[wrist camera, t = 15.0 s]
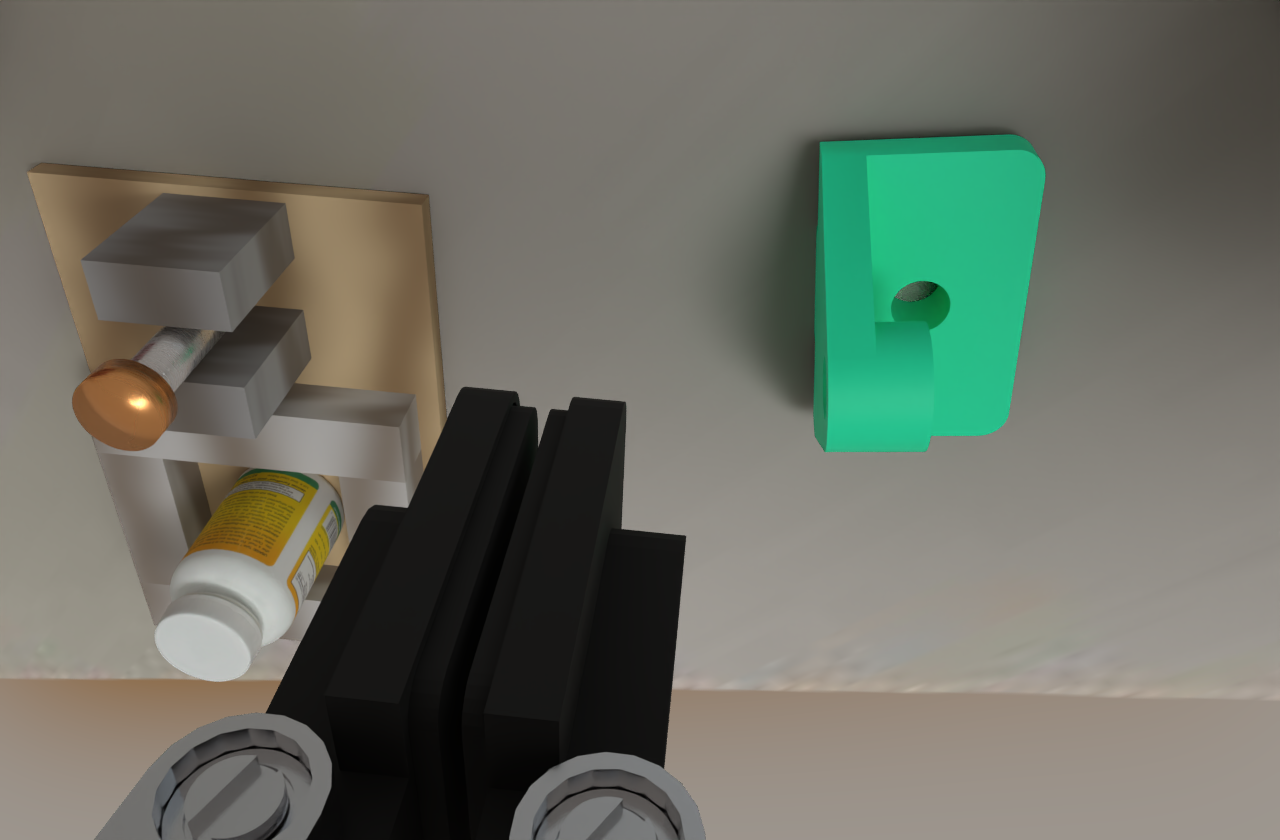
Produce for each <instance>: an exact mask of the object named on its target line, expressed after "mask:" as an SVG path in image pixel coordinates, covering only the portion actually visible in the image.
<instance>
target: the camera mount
mask: <svg viewBox="0 0 1280 840" xmlns="http://www.w3.org/2000/svg"><path fill="white" fill-rule="evenodd" d="M1045 177H1046V173H1045V168H1044V165H1043V163H1042V161H1041V160H1040V158H1039V156H1038V155H1037V153H1036V151H1035V150H1034V148H1033V146H1032V145H1031V144H1030V142H1029V141H1027V140H1026V139H1025V138H1023V137H1021V136H1018V135H1012V134H1006V135H981V136H956V137H930V138H905V139H880V140H854V141H829V142H820V155H819V197H818V226H817V232H816V276H815V320H814V334H815V368H814V411H813V417H814V432H815V437H816V439H817V440H818V442H819V444H820V445H821V447H822V448H823V450H824V451H825V452H925V451H927V449H928V446H929V443H930V438H931V436H981V435H987V434H990V433H992V432H994V431H996V430H998V429H999V428H1000V427H1002V426H1003V424H1004V423H1005V422H1006V420H1007V418H1008V415H1009V410H1010V403H1011V397H1012V390H1013V384H1014V377H1015V371H1016V364H1017V358H1018V352H1019V345H1020V339H1021V332H1022V326H1023V319H1024V313H1025V307H1026V300H1027V294H1028V287H1029V281H1030V274H1031V268H1032V261H1033V255H1034V249H1035V242H1036V236H1037V229H1038V223H1039V216H1040V210H1041V204H1042V197H1043V191H1044V184H1045ZM918 281H929V282H933V283H936V284H938V285H939V286H938V287H937V289H936V290H935V291H934V292H933V293H932V294H931V295H930V296H928V297H926V298H924V299H922V300H919V301H914V302H907V301H902V300H899V299H897V298H895V295H896V294H897V293H898V292H899V290H901V289H902V288H903V287H905V286H906V285H908V284H911V283H914V282H918Z"/></svg>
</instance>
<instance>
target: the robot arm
mask: <svg viewBox="0 0 1280 840" xmlns="http://www.w3.org/2000/svg"><path fill="white" fill-rule="evenodd" d="M625 434H626V402H622V401H611V400H601V399H590V398H579V397H573V398H572V400H571V403H570V406H569V409H568V410H557V409H551V410H550V412H549V415H548V418H547V421H546V425H545V428H544V431H543V434H542V438H541V441H540V444H539V447H538V418H537V410H536V408H535V407H525V406H520V402H519V397H518V394H517V392H515V391H504V390H494V389H483V388H472V387H463V388H462V389H461V390H460V392H459V394H458V396H457V398H456V400H455V403H454V405H453V407H452V409H451V412H450V414H449V416H448V418H447V421H446V423H445V425H444V427H443V430H442V432H441V434H440V436H439V439H438V441H437V443H436V445H435V448H434V450H433V452H432V454H431V457H430V459H429V461H428V463H427V466H426V468H425V470H424V472H423V475H422V477H421V479H420V481H419V484H418V486H417V488H416V490H415V493H414V495H413V497H412V499H411V502H410V504H409V506H408V508H405V507H395V506H385V505H373V506H372V507H370V508H369V509H368V510H367V512H366V513H365V515H364V516H363V518H362V520H361V522H360V524H359V526H358V528H357V530H356V532H355V534H354V536H353V538H352V540H351V542H350V544H349V546H348V548H347V550H346V552H345V554H344V556H343V558H342V560H341V562H340V564H339V566H338V568H337V570H336V572H335V574H334V576H333V578H332V580H331V582H330V584H329V586H328V588H327V590H326V592H325V594H324V596H323V598H322V600H321V602H320V604H319V606H318V608H317V610H316V612H315V615H314V617H313V619H312V621H311V623H310V625H309V627H308V629H307V631H306V633H305V635H304V637H303V639H302V641H301V643H300V645H299V647H298V649H297V651H296V653H295V655H294V657H293V659H292V661H291V663H290V665H289V667H288V669H287V671H286V673H285V675H284V677H283V679H282V681H281V683H280V685H279V687H278V689H277V691H276V693H275V695H274V697H273V699H272V701H271V704H270V705H269V708H268V710H267V711H266V714H265V713H251V714H244V715H237V716H230V717H226V718H223V719H220V720H218V721H215V722H212V723H210V724H207V725H204V726H202V727H199V728H197V729H196V730H194V731H192V732H191V733H189V734H188V735H186V736H185V737H183V738H182V739H180V740H178V741H177V742H175V743H174V744H173V745H171V746H170V747H169V748H168V749H167V750H166V751H165V752H164V753H163V754H162V755H161V756H160V757H159V758H158V759H157V760H156V761H155V762H154V763H153V764H152V765H151V767H149V769H148V770H147V771H146V772H145V774H144V775H143V777H142V778H141V779H140V780H139V782H138V783H137V784H136V785H135V787H134V788H133V789H132V791H131V792H130V793H129V795H128V796H127V797H126V799H125V800H124V801H123V802H122V804H121V805H120V806H119V808H118V809H117V810H116V812H115V813H114V814H113V815H112V817H111V818H110V819H109V821H108V822H107V823H106V825H105V826H104V827H103V829H102V830H101V831H100V832H99V834H98V835H97V836H96V838H95V839H94V840H706V837H705V831H704V827H703V824H702V820H701V817H700V813H699V810H698V807H697V805H696V803H695V802H694V800H693V799H692V798H691V796H690V795H689V793H688V792H687V790H686V789H685V787H684V786H683V784H682V783H681V782H680V781H678V780H677V779H676V778H674V777H673V776H672V775H671V774H669V773H668V772H667V771H666V770H664V765H665V754H666V744H667V733H668V723H669V713H670V702H671V692H672V681H673V671H674V661H675V650H676V640H677V629H678V618H679V608H680V597H681V586H682V576H683V565H684V554H685V543H686V536H684V535H674V534H664V533H654V532H644V531H634V530H624V529H621V525H622V502H623V479H624V457H625Z"/></svg>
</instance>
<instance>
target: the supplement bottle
mask: <svg viewBox="0 0 1280 840" xmlns="http://www.w3.org/2000/svg"><path fill="white" fill-rule="evenodd" d="M343 523H344V508H343V504H342V501H341V499H340V497H339V495H338V493H337V492H336V491H335V489H334V488H333V487H332V486H331V484H330V483H329V482H327V481H326V480H325V479H324V478H323V477H321V476H320V475H319V474H310V473H300V472H290V471H280V470H270V469H260V468H249V469H248V470H246V471H245V472H244V473H243V474H242V475H241V476H240V478H239V479H238V480H237V482H236V483H235V484H234V486H233V487H232V489H231V490H230V492H229V493H228V494H227V496H226V497H225V498H224V500H223V501H222V503H221V504H220V506H219V507H218V509H217V510H216V511H215V513H214V514H213V516H212V517H211V519H210V520H209V521H208V523H207V524H206V526H205V527H204V529H203V530H202V531H201V533H200V534H199V536H198V537H197V539H196V540H195V542H194V543H193V544H192V546H191V547H190V549H189V550H188V552H187V553H186V555H185V556H184V557H183V559H182V560H181V562H180V563H179V564H178V566H177V568H176V569H175V571H174V573H173V576H172V579H171V583H170V595H171V600H172V603H171V604H170V605H169V606H168V608H167V610H166V612H165V613H164V615H163V617H162V618H161V620H160V622H159V623H158V625H157V627H156V630H155V643H156V646H157V648H158V650H159V651H160V653H161V655H162V656H163V657H164V658H165V659H166V660H167V661H168V662H169V663H170V664H171V665H173V666H174V667H175V668H177V669H179V670H180V671H182V672H184V673H186V674H188V675H190V676H193V677H196V678H199V679H202V680H207V681H216V682H219V681H228V680H233V679H236V678H238V677H240V676H242V675H243V674H244V673H245V672H246V671H247V670H248V668H249V667H250V665H251V663H252V661H253V660H254V658H255V656H256V655H257V654H258V652H259V651H260V648H261V647H262V646H265V645H268V644H270V643H272V642H274V641H276V640H277V639H279V638H280V637H281V636H282V635H284V634H285V632H286V631H287V630H288V629H289V627H290V626H291V624H292V623H293V621H294V619H295V617H296V615H297V613H298V612H299V610H300V608H301V606H302V604H303V602H304V600H305V598H306V597H307V595H308V593H309V591H310V589H311V587H312V585H313V583H314V581H315V579H316V578H317V576H318V574H319V572H320V570H321V568H322V566H323V564H324V562H325V561H326V559H327V557H328V555H329V554H330V552H331V550H332V548H333V546H334V544H335V542H336V540H337V538H338V536H339V534H340V532H341V530H342V527H343Z"/></svg>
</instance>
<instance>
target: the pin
mask: <svg viewBox="0 0 1280 840" xmlns="http://www.w3.org/2000/svg"><path fill="white" fill-rule="evenodd" d="M224 333H225V332H224V331H213V330H202V329H191V328H180V327H169V326H163V327H162V328H161V329H160V330H159V331H158V332H157V333H156V334H155V335H154V336H153V337H152V338H151V339H150V340H149V341H148V342H147V343H146V344H145V345H144V346H143V347H142V349H141V350H140V351H139V352H138V353H137V354H136V355H135V356H134V357H133V358H132V359H131V360H127V359H112V360H108V361H106V362H103V363H102V364H100V365H99V366H98V367H97V368H96V369H95V370H94V371H93V372H92V373H91V374H90V375H89V376H88V377H87V378H86V379H85V380H84V381H83V382H82V383H81V384H80V385H79V386H78V387H77V388H76V389H75V391H74V394H73V398H72V404H73V410H74V413H75V415H76V417H77V419H78V421H79V422H80V424H81V425H82V426H83V427H84V428H85V430H86V431H87V432H88V433H90V434H91V435H92V436H93V437H94V438H96V439H97V440H99V441H100V442H102V443H104V444H106V445H108V446H110V447H113V448H116V449H120V450H125V451H140V450H144V449H147V448H149V447H151V446H152V445H154V444H155V443H156V441H157V440H158V439H159V438H160V437H161V435H162V434H163V433H164V432H165V431H166V429H167V428H168V427H169V426H170V425H171V423H172V422H173V421H174V419H175V418H176V415H177V410H178V404H177V399H176V396H175V394H174V392H175V391H176V390H177V388H178V387H179V386H180V385H181V384H182V382H183V381H184V380H185V379H186V378H187V377H188V375H189V374H190V373H191V372H192V371H193V370H194V368H195V367H196V366H197V365H198V364H199V363H200V361H201V360H202V359H203V358H204V357H205V356H206V354H207V353H208V352H209V351H210V350H211V349H212V347H213V346H214V345H215V344H216V343H217V342H218V340H219V339H220V338H221V337H222V336H223V335H224Z"/></svg>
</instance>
